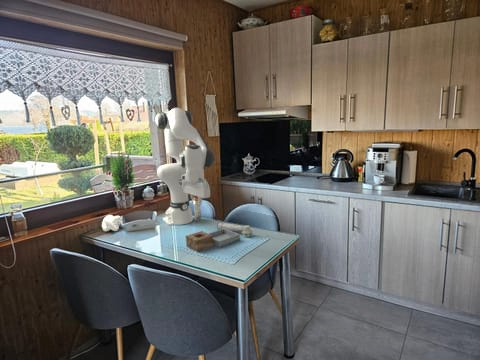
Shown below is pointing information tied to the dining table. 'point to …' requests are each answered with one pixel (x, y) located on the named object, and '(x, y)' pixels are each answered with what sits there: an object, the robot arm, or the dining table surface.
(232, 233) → the tray
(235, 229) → the electric toothbrush
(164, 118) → the robot arm
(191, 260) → the dining table surface
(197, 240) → the hitch block
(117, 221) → the white knot
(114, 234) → the dining table surface
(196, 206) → the pin
